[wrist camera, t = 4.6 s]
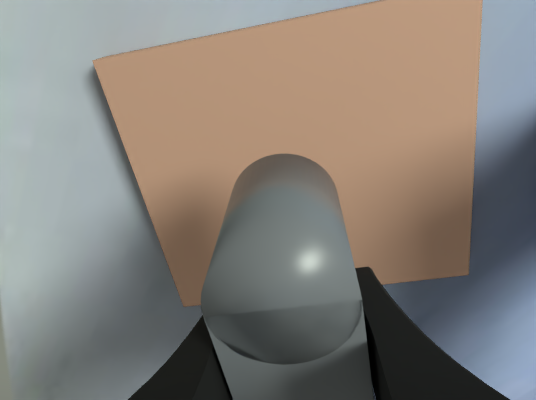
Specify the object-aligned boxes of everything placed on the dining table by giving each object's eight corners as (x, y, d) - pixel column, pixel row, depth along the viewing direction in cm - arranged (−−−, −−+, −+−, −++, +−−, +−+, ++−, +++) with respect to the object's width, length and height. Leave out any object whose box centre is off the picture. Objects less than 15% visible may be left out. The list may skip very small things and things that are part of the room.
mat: (470, -19, 16) (483, -20, 15) (460, 261, 22) (468, 275, 21) (104, 56, 18) (92, 60, 17) (188, 293, 24) (183, 306, 23)
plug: (331, 144, 12) (354, 229, 8) (362, 381, 17) (387, 516, 13) (219, 163, 13) (180, 253, 8) (280, 387, 17) (277, 521, 13)
